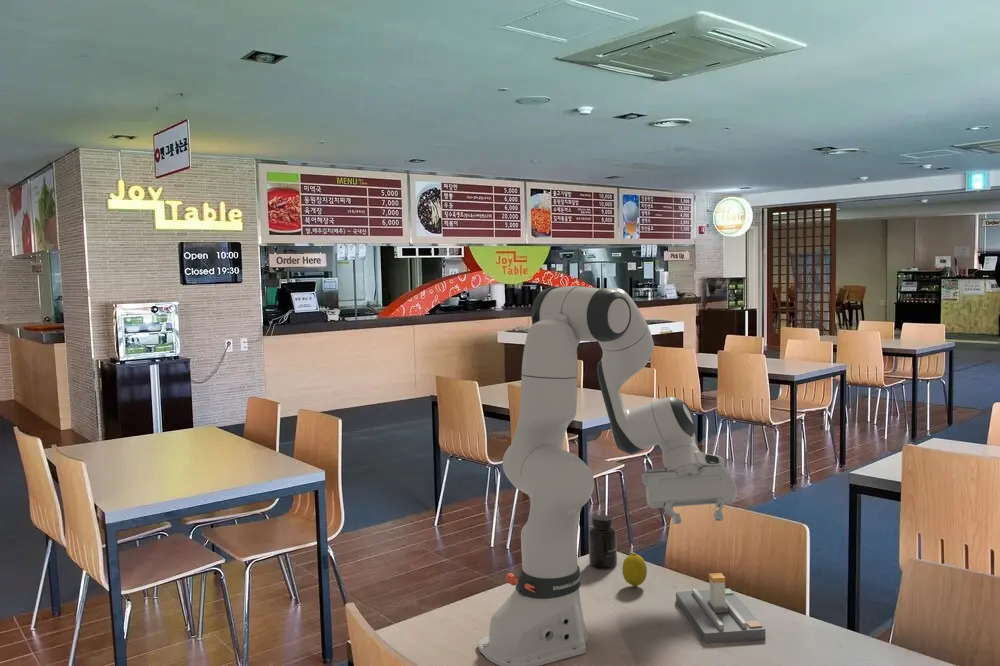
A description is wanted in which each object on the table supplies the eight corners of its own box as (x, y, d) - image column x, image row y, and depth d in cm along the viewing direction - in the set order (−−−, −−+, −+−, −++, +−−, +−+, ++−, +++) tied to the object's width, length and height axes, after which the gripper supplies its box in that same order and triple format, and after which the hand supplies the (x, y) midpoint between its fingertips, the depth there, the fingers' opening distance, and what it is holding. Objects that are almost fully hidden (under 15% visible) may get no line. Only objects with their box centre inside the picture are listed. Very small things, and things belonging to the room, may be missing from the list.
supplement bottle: (616, 570, 192) (614, 522, 191) (588, 569, 193) (586, 521, 192) (618, 560, 198) (616, 513, 198) (590, 559, 200) (589, 513, 199)
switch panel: (676, 600, 173) (675, 587, 172) (729, 597, 173) (729, 584, 173) (704, 643, 153) (704, 628, 153) (765, 639, 153) (765, 624, 153)
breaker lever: (707, 605, 165) (706, 572, 164) (721, 604, 165) (720, 571, 164) (713, 613, 161) (713, 579, 160) (728, 612, 161) (727, 578, 160)
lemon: (650, 584, 182) (649, 551, 181) (641, 593, 177) (640, 559, 177) (628, 580, 185) (627, 547, 184) (619, 589, 180) (617, 555, 180)
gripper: (641, 462, 180) (654, 517, 171) (729, 456, 181) (746, 511, 172) (638, 477, 185) (650, 531, 176) (723, 470, 186) (739, 524, 177)
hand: (698, 521), depth 174 cm, fingers open, 8 cm apart
